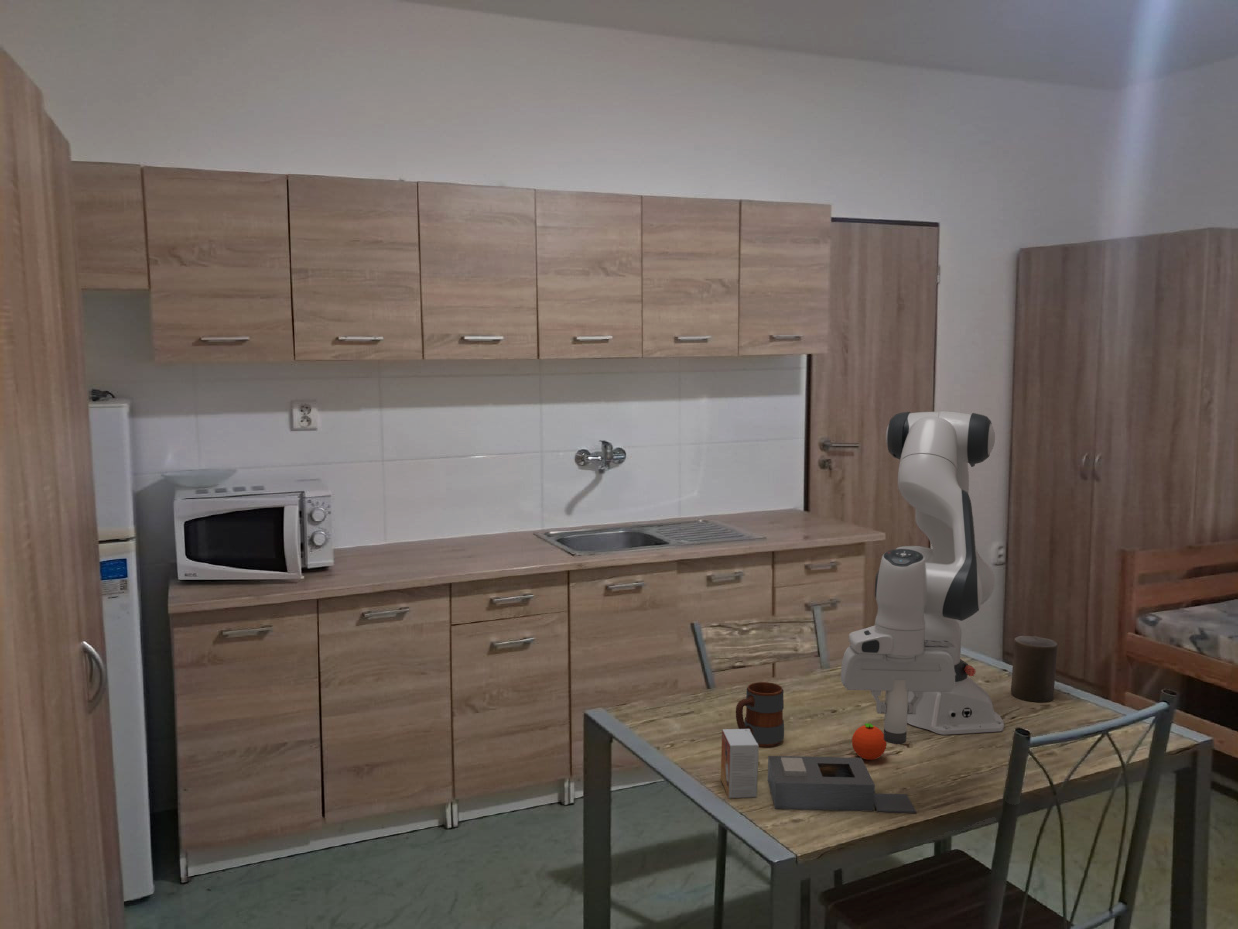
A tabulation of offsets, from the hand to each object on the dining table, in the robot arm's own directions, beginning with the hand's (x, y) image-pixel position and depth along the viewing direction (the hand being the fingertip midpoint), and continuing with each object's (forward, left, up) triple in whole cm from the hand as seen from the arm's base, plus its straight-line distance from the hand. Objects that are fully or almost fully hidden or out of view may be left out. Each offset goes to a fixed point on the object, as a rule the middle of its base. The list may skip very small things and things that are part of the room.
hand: (895, 713), depth 183 cm
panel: (+13, -3, -18) cm, 22 cm away
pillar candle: (-48, -60, -18) cm, 79 cm away
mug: (+22, -28, -18) cm, 40 cm away
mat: (0, 0, -18) cm, 18 cm away
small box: (+28, -5, -18) cm, 34 cm away
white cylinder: (0, 0, -5) cm, 5 cm away
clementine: (0, -21, -18) cm, 28 cm away
